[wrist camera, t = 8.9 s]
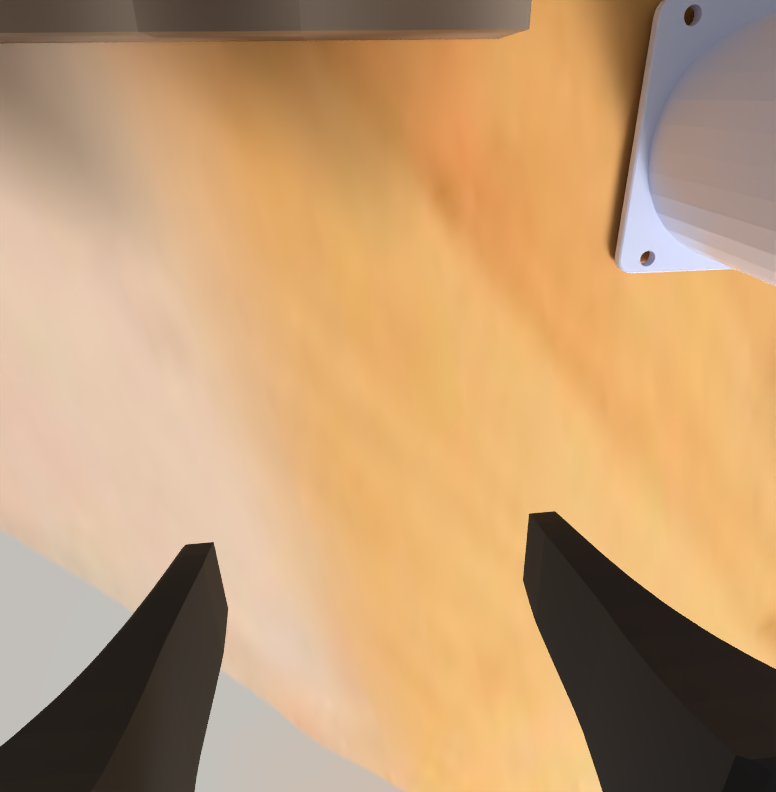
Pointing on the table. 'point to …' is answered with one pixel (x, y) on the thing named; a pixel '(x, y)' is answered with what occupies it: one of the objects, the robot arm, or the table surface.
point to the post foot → (258, 20)
